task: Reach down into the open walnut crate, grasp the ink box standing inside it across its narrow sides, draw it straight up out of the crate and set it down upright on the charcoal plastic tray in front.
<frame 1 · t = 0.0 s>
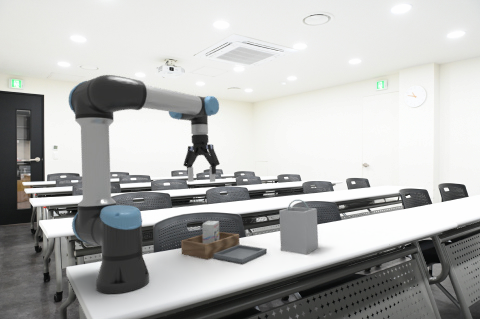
hand: (201, 181, 146), 28 cm above the table, fingers open, 13 cm apart
tray: (240, 256, 124), on the table
ink box: (211, 251, 133), resting in crate
crate: (211, 250, 133), on the table
caddy: (299, 249, 131), on the table
headphones: (299, 249, 131), resting in caddy
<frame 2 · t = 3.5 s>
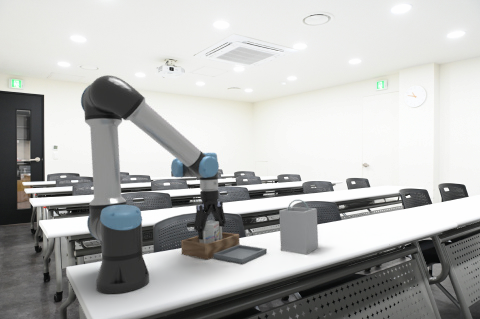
hand: (211, 244, 133), 3 cm above the table, fingers closed on ink box, 9 cm apart
ink box: (211, 251, 133), resting in crate, touching gripper
everything else where it was.
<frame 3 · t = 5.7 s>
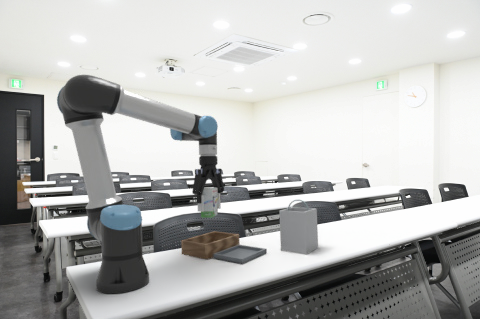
hand: (209, 209, 133), 17 cm above the table, fingers closed on ink box, 9 cm apart
ink box: (209, 216, 133), point 14 cm above the table, touching gripper
everything else where it was.
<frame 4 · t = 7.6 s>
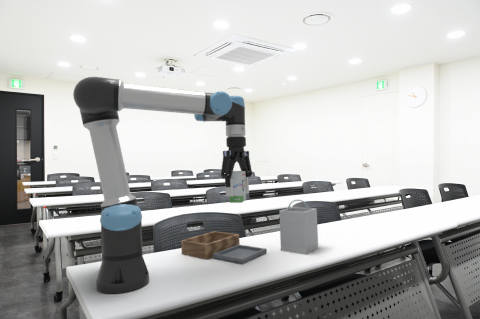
hand: (237, 194, 124), 24 cm above the table, fingers closed on ink box, 9 cm apart
ink box: (238, 202, 124), point 21 cm above the table, touching gripper
everything else where it was.
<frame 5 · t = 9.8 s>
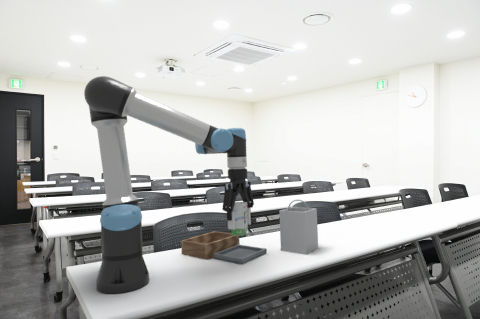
hand: (239, 226, 124), 11 cm above the table, fingers closed on ink box, 9 cm apart
ink box: (240, 233, 124), point 8 cm above the table, touching gripper
everything else where it was.
when the fingers open (5 cm above the table, at t = 11.7 s): ink box drops 1 cm, resting on tray.
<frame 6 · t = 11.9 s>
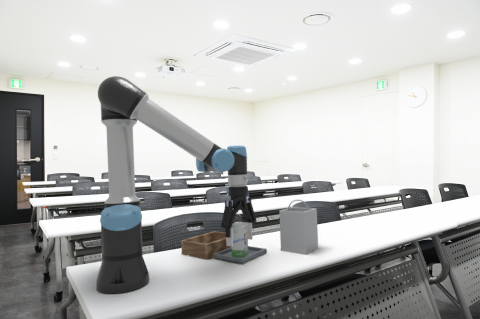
hand: (240, 242, 124), 5 cm above the table, fingers open, 11 cm apart
ink box: (240, 254, 124), resting on tray
everything else where it was.
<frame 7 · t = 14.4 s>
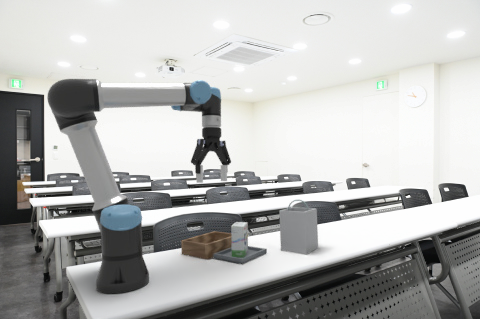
hand: (212, 181, 126), 29 cm above the table, fingers open, 13 cm apart
nothing on the table moved.
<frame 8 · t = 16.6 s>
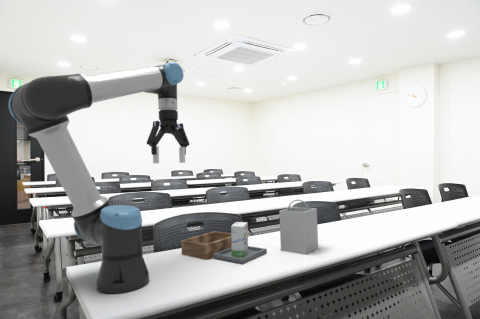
hand: (169, 163, 130), 37 cm above the table, fingers open, 13 cm apart
nothing on the table moved.
at the end: ink box inside the target area on the tray (0.1 cm from its centre), point 0.4 cm above the tray's base; ink box tilted 0°; the gripper is holding nothing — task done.
